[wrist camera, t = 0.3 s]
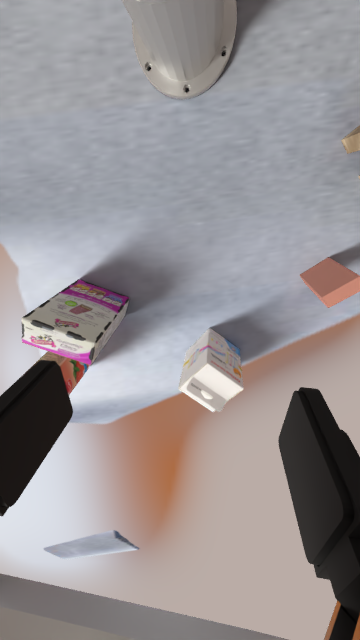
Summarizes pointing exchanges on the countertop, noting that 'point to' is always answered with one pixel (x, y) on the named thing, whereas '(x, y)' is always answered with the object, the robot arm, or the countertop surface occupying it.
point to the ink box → (212, 371)
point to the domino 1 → (331, 281)
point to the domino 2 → (352, 141)
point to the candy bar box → (75, 321)
